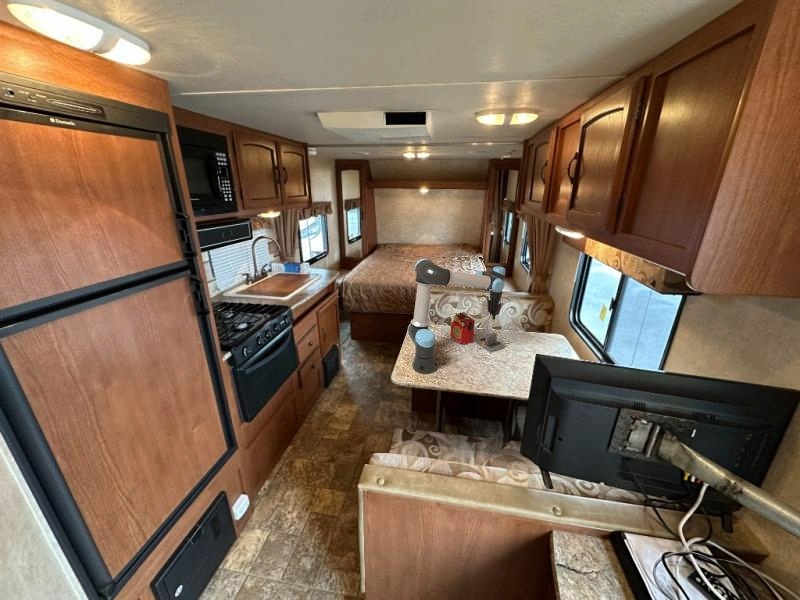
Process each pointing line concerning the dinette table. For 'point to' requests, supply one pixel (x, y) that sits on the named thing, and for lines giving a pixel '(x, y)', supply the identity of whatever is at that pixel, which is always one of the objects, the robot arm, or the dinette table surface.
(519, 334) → the dinette table surface
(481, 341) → the rack
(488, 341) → the panel
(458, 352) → the dinette table surface
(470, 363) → the dinette table surface
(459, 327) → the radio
